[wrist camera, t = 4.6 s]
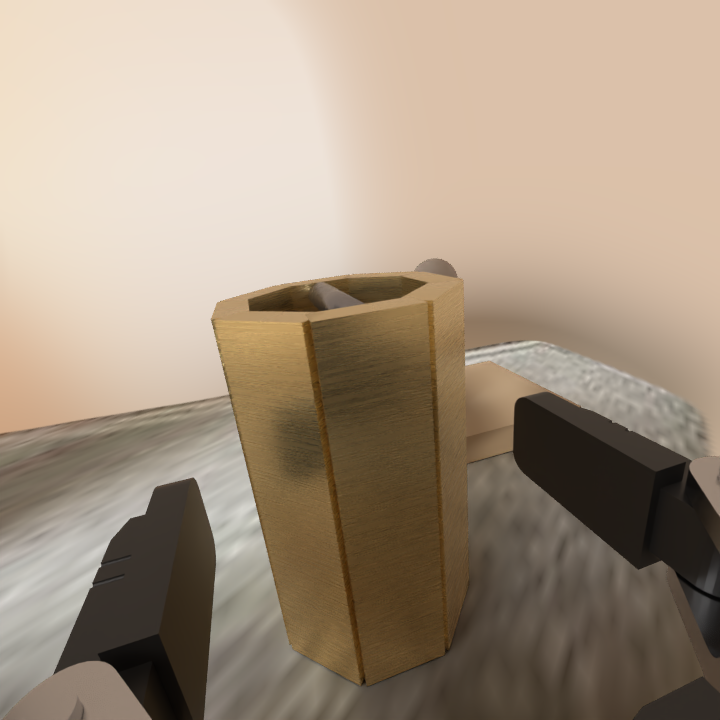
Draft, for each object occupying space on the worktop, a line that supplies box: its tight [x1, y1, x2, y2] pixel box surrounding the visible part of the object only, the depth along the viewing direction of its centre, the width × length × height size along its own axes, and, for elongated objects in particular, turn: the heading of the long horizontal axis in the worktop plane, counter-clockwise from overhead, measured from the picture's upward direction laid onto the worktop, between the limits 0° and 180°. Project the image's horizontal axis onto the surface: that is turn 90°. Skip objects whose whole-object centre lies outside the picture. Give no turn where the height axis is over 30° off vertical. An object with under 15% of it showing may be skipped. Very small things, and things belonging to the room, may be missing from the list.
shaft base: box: [414, 259, 581, 463], centre depth 21 cm, size 12×8×10 cm, turn 106°
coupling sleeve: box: [211, 271, 469, 686], centre depth 12 cm, size 6×6×10 cm
